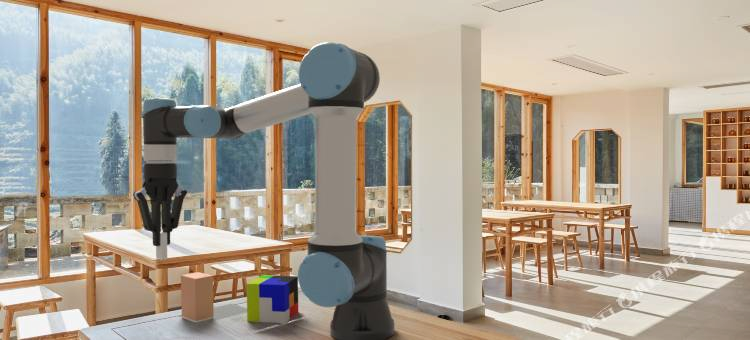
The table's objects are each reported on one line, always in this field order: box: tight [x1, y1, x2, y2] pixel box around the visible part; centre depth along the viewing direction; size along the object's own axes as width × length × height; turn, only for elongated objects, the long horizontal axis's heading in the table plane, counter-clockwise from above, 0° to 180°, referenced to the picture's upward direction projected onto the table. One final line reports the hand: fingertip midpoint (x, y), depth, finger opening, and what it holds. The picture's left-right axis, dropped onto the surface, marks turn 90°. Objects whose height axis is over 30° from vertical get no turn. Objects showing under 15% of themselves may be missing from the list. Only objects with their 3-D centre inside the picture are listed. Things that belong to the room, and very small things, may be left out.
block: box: [180, 271, 214, 324], centre depth 143 cm, size 7×5×11 cm
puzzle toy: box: [246, 274, 299, 326], centre depth 143 cm, size 10×10×10 cm
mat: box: [177, 303, 247, 325], centre depth 147 cm, size 11×16×1 cm
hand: (161, 258), depth 136 cm, fingers closed
